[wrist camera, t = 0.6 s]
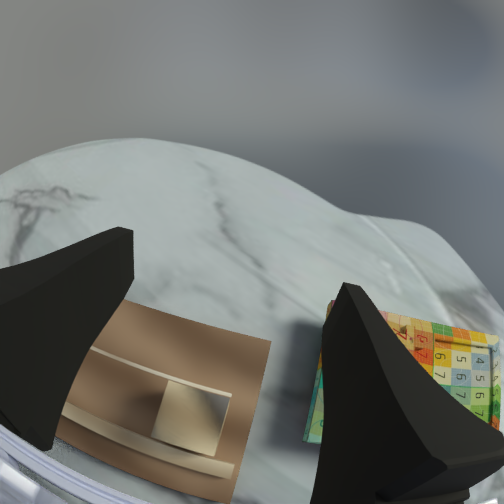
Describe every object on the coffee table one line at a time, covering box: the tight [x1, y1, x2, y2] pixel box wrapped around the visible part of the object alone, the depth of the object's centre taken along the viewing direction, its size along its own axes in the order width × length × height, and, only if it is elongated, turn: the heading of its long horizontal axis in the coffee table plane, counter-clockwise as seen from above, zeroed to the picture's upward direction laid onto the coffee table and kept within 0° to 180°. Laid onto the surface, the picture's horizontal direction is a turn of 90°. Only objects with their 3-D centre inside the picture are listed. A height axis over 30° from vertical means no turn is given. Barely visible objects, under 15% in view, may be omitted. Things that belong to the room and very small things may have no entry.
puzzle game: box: [302, 300, 501, 444], centre depth 22 cm, size 12×5×20 cm
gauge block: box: [151, 380, 230, 456], centre depth 18 cm, size 4×4×4 cm
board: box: [55, 299, 271, 504], centre depth 21 cm, size 14×24×3 cm, turn 77°
